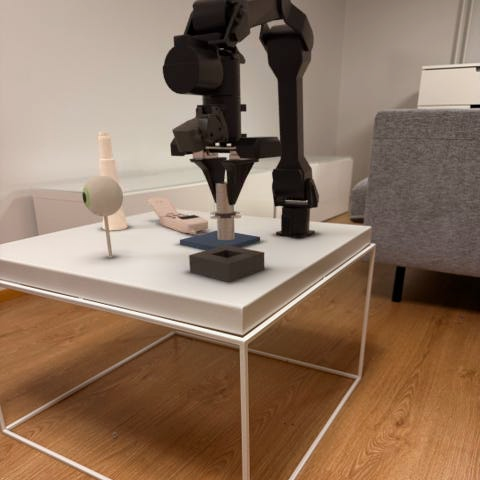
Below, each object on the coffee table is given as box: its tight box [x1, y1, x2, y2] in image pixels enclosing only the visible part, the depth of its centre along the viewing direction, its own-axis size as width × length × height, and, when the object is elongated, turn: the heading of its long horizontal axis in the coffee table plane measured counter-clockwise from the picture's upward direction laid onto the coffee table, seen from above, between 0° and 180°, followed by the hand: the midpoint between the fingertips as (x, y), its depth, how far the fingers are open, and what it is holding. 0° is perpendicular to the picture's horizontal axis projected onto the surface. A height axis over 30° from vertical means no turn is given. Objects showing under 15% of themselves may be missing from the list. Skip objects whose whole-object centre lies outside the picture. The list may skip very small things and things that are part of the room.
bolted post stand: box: [209, 181, 242, 241], centre depth 76 cm, size 6×6×9 cm
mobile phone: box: [146, 195, 209, 236], centre depth 114 cm, size 6×6×25 cm
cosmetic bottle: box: [97, 131, 128, 231], centre depth 111 cm, size 6×6×22 cm
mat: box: [179, 230, 261, 251], centre depth 98 cm, size 12×12×1 cm
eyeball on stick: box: [82, 175, 124, 259], centre depth 86 cm, size 7×7×15 cm
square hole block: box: [188, 245, 265, 283], centre depth 79 cm, size 9×9×3 cm
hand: (225, 204), depth 75 cm, fingers closed on bolted post stand, 3 cm apart
